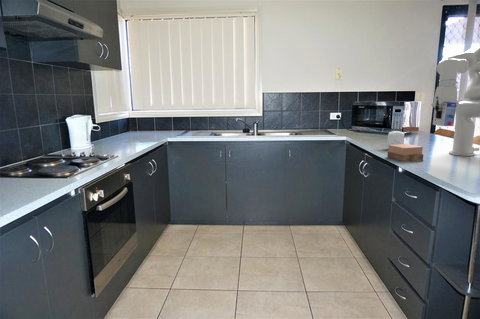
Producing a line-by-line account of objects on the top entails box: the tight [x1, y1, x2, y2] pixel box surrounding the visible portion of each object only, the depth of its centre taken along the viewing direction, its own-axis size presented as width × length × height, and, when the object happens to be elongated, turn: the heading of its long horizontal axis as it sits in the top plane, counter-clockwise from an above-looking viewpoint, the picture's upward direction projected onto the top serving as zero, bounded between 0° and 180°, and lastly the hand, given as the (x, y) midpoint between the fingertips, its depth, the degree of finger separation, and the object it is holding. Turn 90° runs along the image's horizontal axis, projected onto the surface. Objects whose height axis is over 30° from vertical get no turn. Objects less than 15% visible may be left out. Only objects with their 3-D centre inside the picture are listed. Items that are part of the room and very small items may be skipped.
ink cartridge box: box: [432, 103, 456, 127], centre depth 166 cm, size 10×6×14 cm, turn 2°
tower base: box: [386, 151, 424, 163], centre depth 177 cm, size 13×13×4 cm
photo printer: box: [386, 130, 405, 151], centre depth 208 cm, size 10×4×12 cm, turn 84°
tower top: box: [388, 143, 423, 155], centre depth 177 cm, size 12×12×4 cm
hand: (443, 117), depth 167 cm, fingers closed on ink cartridge box, 5 cm apart
